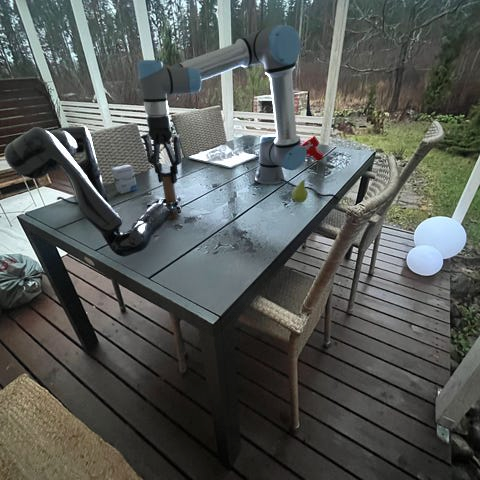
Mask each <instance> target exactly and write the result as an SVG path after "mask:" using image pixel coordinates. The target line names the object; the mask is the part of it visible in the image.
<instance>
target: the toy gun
mask: <svg viewBox="0 0 480 480" xmlns="http://www.w3.org/2000/svg"><path fill="white" fill-rule="evenodd" d="M319 144H320V141H319V140H318V138H317V137H316V136H315V135H313V136H311V137H310V138H308V139H306V140H305V141H304V142H302V143H301V145H302V146H304V147H305V149H306V158H309V157H310V156H311V157H313V158H314V159H315V160H316V162H317V163H319V161H317V160H320V159H321V161H323V158H324V154H323V153H322V152H320V151H319V149H317V147H318V146H319Z"/></svg>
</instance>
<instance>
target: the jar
mask: <svg viewBox="0 0 480 480" xmlns="http://www.w3.org/2000/svg"><path fill="white" fill-rule="evenodd" d="M161 183H162V187H163V192H164V197H165V200H166V203H168V202H170V201H174V200H175V199H176V198H177V196H176V188H175V184H172V178H171V176H170V177H162V182H161ZM174 205H175V204H174ZM177 218H179V213H178V212H173V213H172V214H170V216H169V218H168V219H177Z"/></svg>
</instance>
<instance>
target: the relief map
mask: <svg viewBox="0 0 480 480" xmlns="http://www.w3.org/2000/svg"><path fill="white" fill-rule="evenodd" d="M256 158H257V155H256V154H252V153H251V154H250V153H247V152H245V151H244V150H243V149H242V148H241V147H239V148H237V149H232V148H230V147H229V146H228V145H227V144H222V143H221V144H220V145H218V146H216V147H214V148H212V149H208V150H205V151H199V152H198V153H197V154H192V155H190V156H188V159H190V160H194V161H199V162H202V163H207V164H211V165H215V166H219V167H223V168H228V169H233V168H235V167H237V166H239V165H242V164H245V163H247V162H249V161H252V160H254V159H256Z"/></svg>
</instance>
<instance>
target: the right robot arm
mask: <svg viewBox="0 0 480 480" xmlns="http://www.w3.org/2000/svg"><path fill="white" fill-rule="evenodd" d="M301 47H302V45H301V38H300V35H299V33H298V31H297V30H296V29H295V28H294V27H293V26H292V25H289V24H277V25H274V26H273V25H272V26H269V27H263V28H260V29H258V30H255V31H254V32H252V33H249V34H248V35H246V36H243V37H240V38H238V39H237V40H236V41H235V43H233V44H229V45H228V46H224V47H222V48H219V49H216V50H212V51H209V52H207V53H205V54H201V55H199V56H196V57H194V58H190V59H186V60H185V61H181V62H179V63H176V64H173V65H170V66H164V64H163V62H162V60H159V59H140V60H138V62H137V72H138V79H139V84H140V91H141V94H142V100H143V108H144V113H145V115H146V124H147V128H148V133H144V134H142V135H141V138H142V140H143V142H144V147H145V152H146V158H147V162H148V163H149V164H152V165H153V168H154V172H155V174H157V180H158V183H159V184H161V183H163V182H162V177H161V176H160V171H161V170H163V167H162V163H161V161H160V155H161V153H160V152H161V146H163V148H164V149H165V151H166V154H167V156H168V159H169V162H170V164H171V165H170V166H169V169H170V171H171V178H172V184H174V185H175V184H176V183H178V177H177V175H178V174H179V169H178V166H180V165H181V164H182V163H183V162H182V153H181V152H182V151H181V145H180V140H181V135H180V134H175V133H173V131H172V129H171V119H170V115H169V114H170V111H169V105H168V96H167V95H185V94H186V95H187V94H188V95H189V94H190V95H192V94H197V93H199V92H200V91H201V88H202V81H203V80H207V79H210V78H213V77H215V76H218V75H221V74H223V73H225V72H229V71H230V70H234V69H236V68H239V67H242V68H247V67H250V66H258V65H262V66H263V68H264V74H265V75H267V76H268V77H269V82H270V91H271V98H272V99H271V100H272V107H273V108H272V109H273V116H274V125H275V131H276V132H275V134H266V135H262V136H260V139H259V143H258V145H259V153H258V157H259V158H258V167H257V170H256V172H255V173H256V174H255V178H254V181H255V183H258V184H259V185H262V186H263V185H264V186H279V185H281V184H283V183H285V184H287V185H289V186H291V187H294V188H296V187H297V186H298V184H297V185H296V184H294V183H291V182H290V181H289V180H286V179H285V175H284V172H283V171H284V170H288V171H296V170H298V169H299V168H301V166H302V165H303V164H304V163H305V161H306V158H307V157H306V149H305V147H304V146H302V145H301V144H302V143H301V142H302V141H301V136H300V135H299V134H297V124H296V123H297V122H296V109H295V98H294V97H295V96H294V83H293V71H294V70H295V69H296V61H297V60H298V58H299V55H300V54H301ZM172 144H173V145H172ZM172 146H173V147H172ZM283 169H284V170H283ZM305 189H306V190H310V191H312V192H314V193H315V195H317V196H320V197H323V198H324V197H325V198H326V197H333V198H334V199H335V200H339V197H338V196H337V195H336V194H333V193H327V194H324V193H323V194H322V193H319V192H318V191H317V190H316V189H315V188H312V187H310V186H305Z"/></svg>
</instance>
